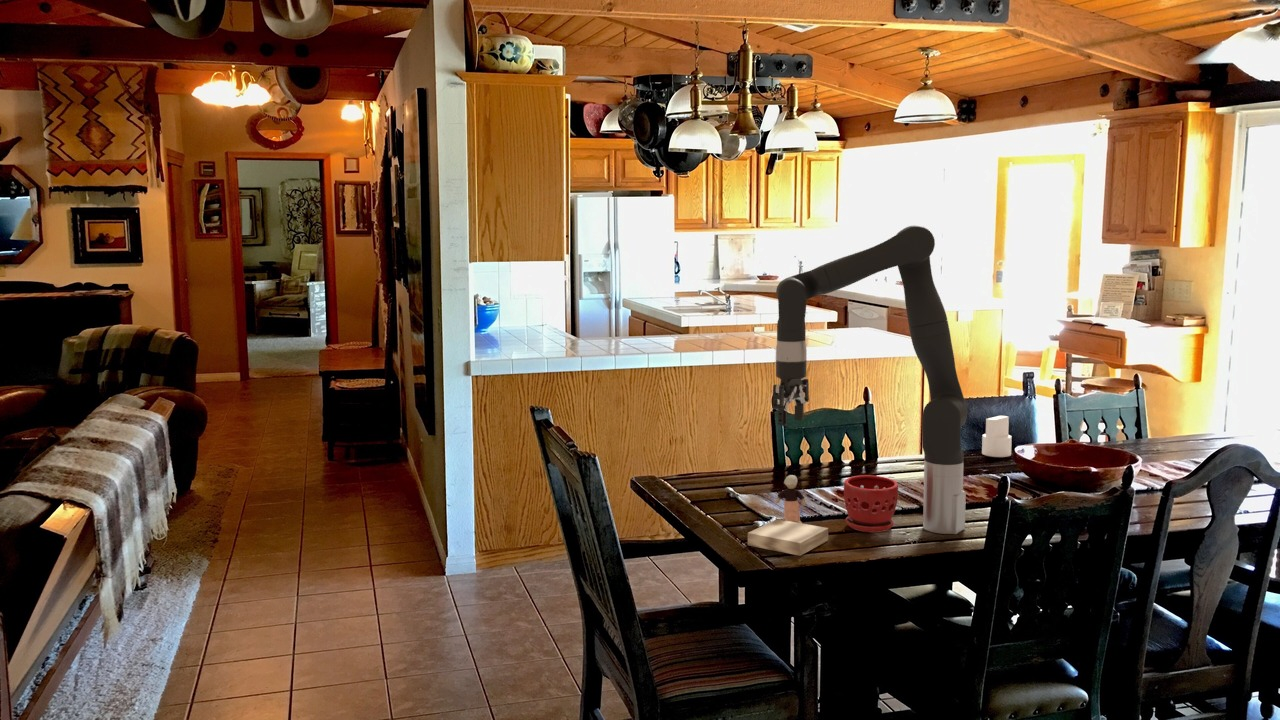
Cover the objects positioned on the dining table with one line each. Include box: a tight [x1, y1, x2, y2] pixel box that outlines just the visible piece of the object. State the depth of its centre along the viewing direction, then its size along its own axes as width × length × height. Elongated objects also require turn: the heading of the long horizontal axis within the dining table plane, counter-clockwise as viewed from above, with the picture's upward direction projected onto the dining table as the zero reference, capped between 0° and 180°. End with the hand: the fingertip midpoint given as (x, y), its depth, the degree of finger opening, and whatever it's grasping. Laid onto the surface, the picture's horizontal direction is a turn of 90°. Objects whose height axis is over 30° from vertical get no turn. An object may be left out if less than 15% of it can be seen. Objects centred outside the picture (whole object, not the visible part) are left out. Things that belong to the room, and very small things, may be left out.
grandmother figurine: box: [775, 474, 807, 524], centre depth 258 cm, size 8×4×13 cm, turn 84°
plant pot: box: [843, 474, 899, 533], centre depth 254 cm, size 13×13×12 cm
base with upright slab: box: [981, 415, 1012, 458], centre depth 333 cm, size 9×9×12 cm
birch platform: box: [747, 518, 829, 557], centre depth 244 cm, size 14×14×3 cm
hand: (791, 422), depth 256 cm, fingers open, 8 cm apart
